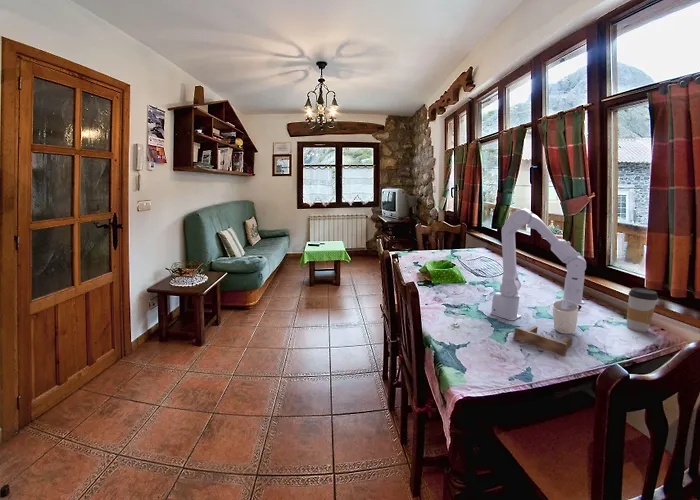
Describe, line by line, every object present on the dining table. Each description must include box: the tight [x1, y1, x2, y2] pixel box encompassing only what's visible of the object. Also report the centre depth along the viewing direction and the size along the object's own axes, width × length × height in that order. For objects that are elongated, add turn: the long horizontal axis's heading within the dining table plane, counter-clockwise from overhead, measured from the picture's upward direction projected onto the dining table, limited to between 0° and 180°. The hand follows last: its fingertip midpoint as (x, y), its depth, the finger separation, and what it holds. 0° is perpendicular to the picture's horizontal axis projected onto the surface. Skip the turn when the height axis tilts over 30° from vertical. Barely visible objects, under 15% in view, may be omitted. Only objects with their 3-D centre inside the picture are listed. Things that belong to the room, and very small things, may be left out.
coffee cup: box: [626, 287, 659, 333], centre depth 126 cm, size 8×8×15 cm
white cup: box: [552, 299, 579, 335], centre depth 122 cm, size 8×8×10 cm
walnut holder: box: [513, 325, 573, 357], centre depth 114 cm, size 16×11×4 cm
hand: (569, 323), depth 126 cm, fingers closed, pressing on white cup
